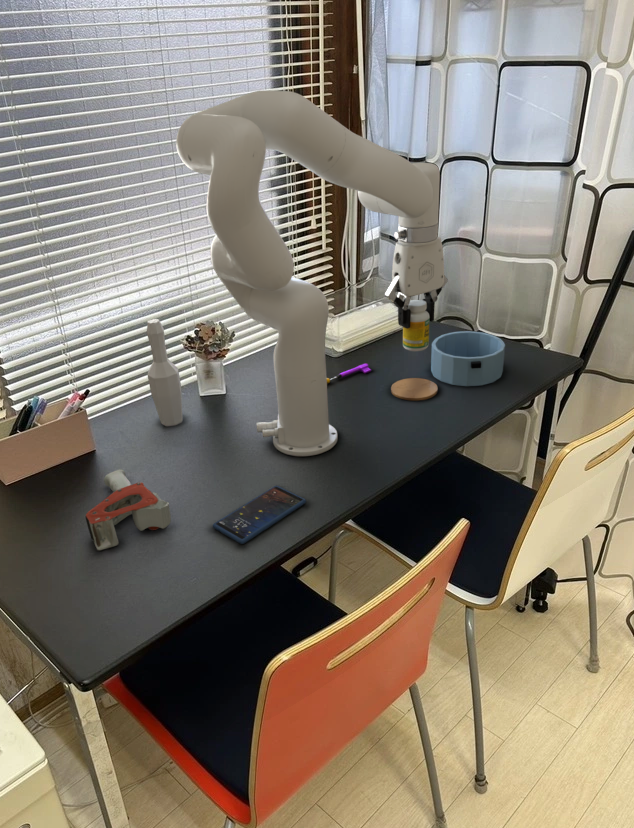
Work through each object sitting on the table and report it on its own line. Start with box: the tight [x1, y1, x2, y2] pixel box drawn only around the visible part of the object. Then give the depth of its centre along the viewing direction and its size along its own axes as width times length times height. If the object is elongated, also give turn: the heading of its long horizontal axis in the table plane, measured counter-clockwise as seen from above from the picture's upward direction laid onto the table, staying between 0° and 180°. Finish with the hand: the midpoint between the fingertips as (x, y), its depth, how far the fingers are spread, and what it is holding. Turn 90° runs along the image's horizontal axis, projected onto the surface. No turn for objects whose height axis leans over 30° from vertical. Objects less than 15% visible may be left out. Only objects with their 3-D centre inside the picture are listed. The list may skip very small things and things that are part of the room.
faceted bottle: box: [146, 318, 184, 427], centre depth 143 cm, size 6×6×22 cm
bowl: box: [430, 330, 506, 387], centre depth 158 cm, size 16×18×6 cm
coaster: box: [390, 377, 439, 402], centre depth 153 cm, size 10×10×1 cm
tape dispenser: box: [85, 469, 172, 551], centre depth 119 cm, size 18×5×20 cm
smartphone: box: [212, 485, 307, 545], centre depth 117 cm, size 8×1×15 cm
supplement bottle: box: [402, 299, 430, 352], centre depth 146 cm, size 5×5×10 cm
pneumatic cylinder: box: [327, 363, 372, 385], centre depth 160 cm, size 3×1×16 cm
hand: (416, 322), depth 145 cm, fingers closed on supplement bottle, 5 cm apart
